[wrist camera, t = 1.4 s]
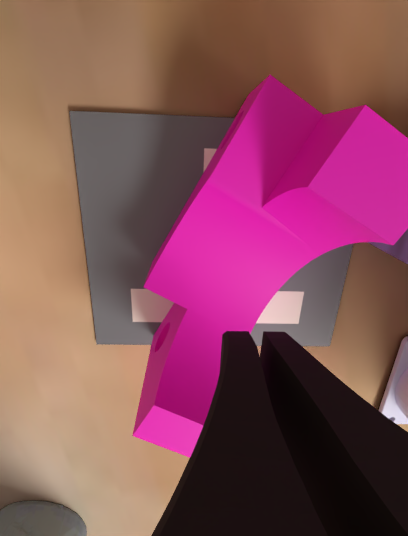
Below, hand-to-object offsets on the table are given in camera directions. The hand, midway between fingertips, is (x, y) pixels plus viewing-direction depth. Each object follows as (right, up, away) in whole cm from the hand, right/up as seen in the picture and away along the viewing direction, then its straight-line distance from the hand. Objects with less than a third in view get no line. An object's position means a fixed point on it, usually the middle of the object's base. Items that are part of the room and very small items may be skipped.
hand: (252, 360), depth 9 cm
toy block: (0, +4, +10) cm, 10 cm away
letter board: (0, +4, +10) cm, 10 cm away
